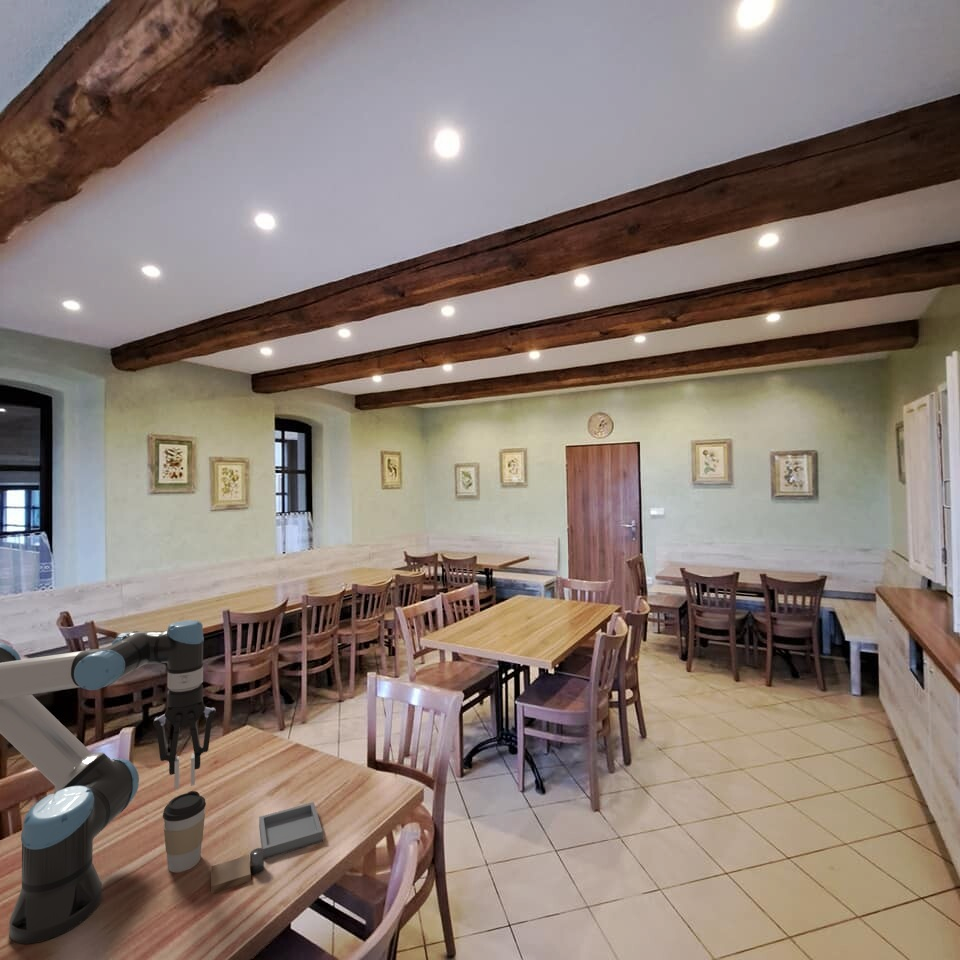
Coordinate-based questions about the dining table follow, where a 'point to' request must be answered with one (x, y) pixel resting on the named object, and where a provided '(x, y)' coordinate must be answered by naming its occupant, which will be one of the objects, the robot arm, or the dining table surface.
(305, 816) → the tray
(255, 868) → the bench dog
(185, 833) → the coffee cup
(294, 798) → the dining table surface
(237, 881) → the board
